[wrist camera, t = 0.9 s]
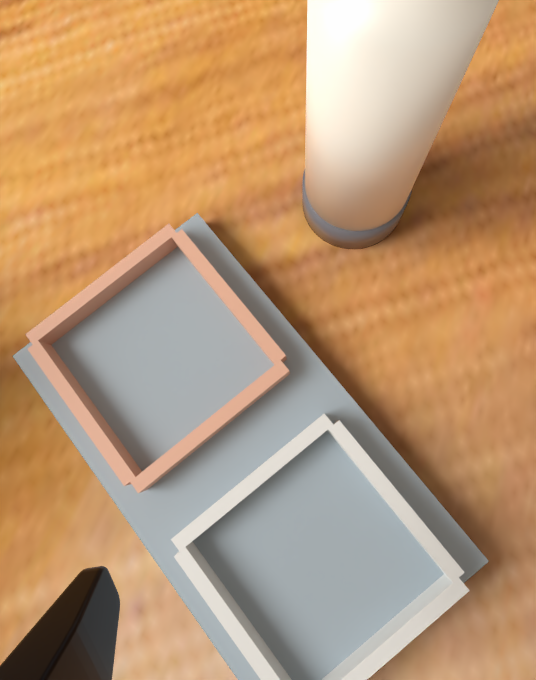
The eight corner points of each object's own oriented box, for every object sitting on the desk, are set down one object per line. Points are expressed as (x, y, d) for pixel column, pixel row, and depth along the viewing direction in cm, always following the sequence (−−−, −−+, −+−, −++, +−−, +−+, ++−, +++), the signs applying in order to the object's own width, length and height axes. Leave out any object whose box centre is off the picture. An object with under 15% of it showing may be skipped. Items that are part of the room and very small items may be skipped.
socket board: (478, 554, 22) (500, 569, 19) (282, 724, 21) (279, 761, 19) (202, 223, 25) (192, 201, 23) (26, 359, 25) (-3, 352, 22)
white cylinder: (424, 206, 25) (558, -33, 12) (346, 269, 24) (397, 92, 12) (358, 136, 25) (415, -157, 13) (282, 196, 25) (263, -43, 12)
